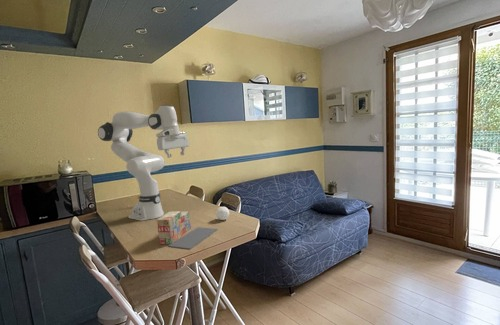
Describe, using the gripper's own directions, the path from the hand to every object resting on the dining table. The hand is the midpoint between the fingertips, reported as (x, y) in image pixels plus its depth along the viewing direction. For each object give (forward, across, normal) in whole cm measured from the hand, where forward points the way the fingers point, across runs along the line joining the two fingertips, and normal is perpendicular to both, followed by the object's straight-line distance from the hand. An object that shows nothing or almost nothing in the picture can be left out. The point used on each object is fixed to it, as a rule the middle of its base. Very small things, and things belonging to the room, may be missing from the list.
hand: (176, 156), depth 155 cm
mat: (+40, +17, +24) cm, 50 cm away
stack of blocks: (+40, +19, +13) cm, 46 cm away
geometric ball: (+41, -10, +18) cm, 46 cm away
